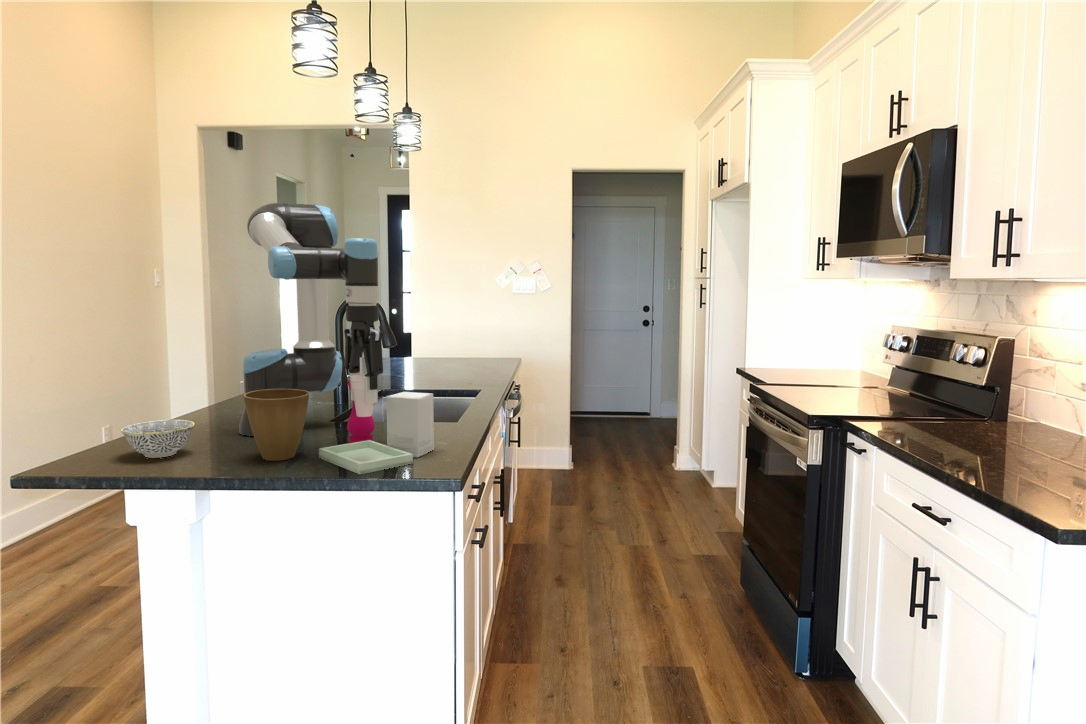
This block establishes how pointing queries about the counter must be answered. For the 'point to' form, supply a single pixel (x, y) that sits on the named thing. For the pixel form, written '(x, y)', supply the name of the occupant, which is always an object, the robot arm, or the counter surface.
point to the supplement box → (410, 422)
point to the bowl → (158, 436)
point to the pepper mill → (359, 425)
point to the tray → (365, 456)
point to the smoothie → (360, 394)
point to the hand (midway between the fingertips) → (364, 401)
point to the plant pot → (277, 420)
